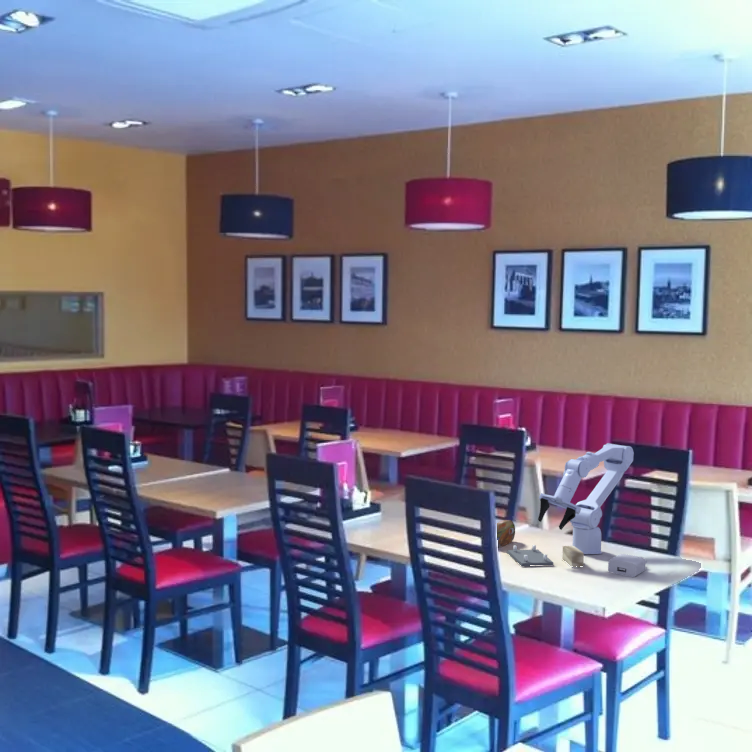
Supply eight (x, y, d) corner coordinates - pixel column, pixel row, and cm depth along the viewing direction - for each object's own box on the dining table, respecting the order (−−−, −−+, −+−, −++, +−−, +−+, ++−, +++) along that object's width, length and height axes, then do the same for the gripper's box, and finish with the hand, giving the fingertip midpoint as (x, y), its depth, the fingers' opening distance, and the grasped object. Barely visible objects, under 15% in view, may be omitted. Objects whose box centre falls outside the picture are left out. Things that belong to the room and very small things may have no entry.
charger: (651, 567, 309) (635, 578, 297) (625, 562, 315) (607, 572, 303) (652, 554, 309) (635, 563, 297) (625, 549, 314) (608, 558, 302)
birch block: (573, 560, 316) (574, 545, 316) (583, 567, 308) (583, 553, 307) (562, 560, 316) (562, 546, 315) (571, 568, 307) (572, 553, 307)
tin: (495, 549, 328) (495, 526, 327) (487, 548, 330) (487, 524, 329) (515, 541, 340) (516, 518, 339) (508, 539, 342) (508, 517, 341)
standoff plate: (537, 552, 324) (538, 543, 324) (553, 565, 309) (553, 556, 308) (507, 553, 323) (507, 544, 322) (521, 566, 307) (521, 557, 307)
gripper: (544, 478, 318) (528, 512, 313) (584, 492, 311) (567, 527, 306) (548, 487, 323) (531, 520, 319) (587, 501, 316) (570, 535, 311)
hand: (549, 524), depth 313 cm, fingers open, 7 cm apart
